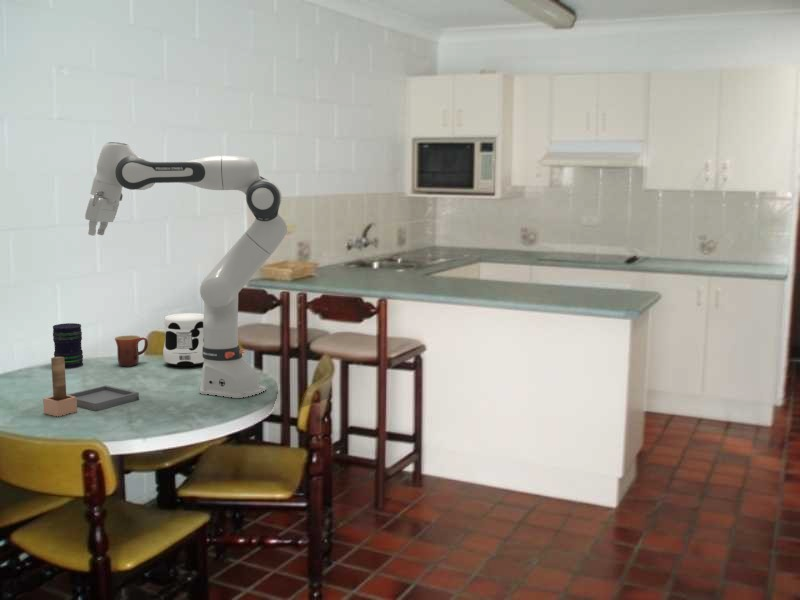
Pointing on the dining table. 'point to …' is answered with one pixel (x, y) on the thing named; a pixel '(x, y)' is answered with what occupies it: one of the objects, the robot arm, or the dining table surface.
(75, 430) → the dining table surface
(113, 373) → the dining table surface
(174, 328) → the milk container
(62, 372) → the dowel
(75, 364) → the storage jar
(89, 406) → the tray
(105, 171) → the robot arm
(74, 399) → the pot
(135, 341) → the mug
